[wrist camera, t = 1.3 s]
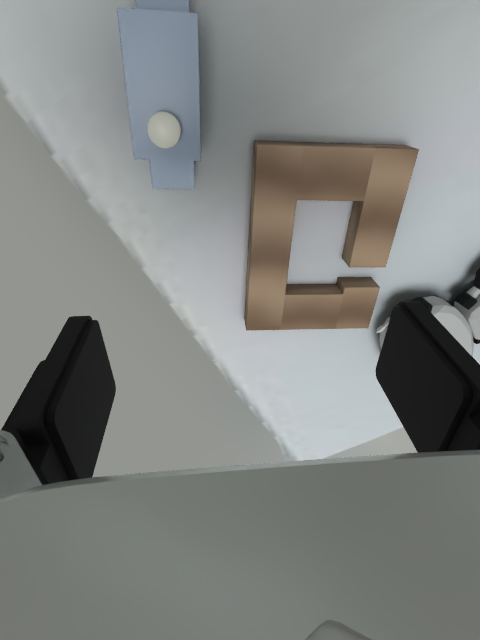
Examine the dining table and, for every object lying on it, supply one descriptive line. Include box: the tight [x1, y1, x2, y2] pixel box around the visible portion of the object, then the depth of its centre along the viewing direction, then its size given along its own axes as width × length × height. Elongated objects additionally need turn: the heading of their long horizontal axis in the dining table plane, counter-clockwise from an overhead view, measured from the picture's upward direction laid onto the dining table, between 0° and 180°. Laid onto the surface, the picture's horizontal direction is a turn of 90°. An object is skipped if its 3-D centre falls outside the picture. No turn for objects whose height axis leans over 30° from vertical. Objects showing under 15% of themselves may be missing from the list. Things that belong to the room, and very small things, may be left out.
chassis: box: [244, 141, 419, 330], centre depth 31 cm, size 16×12×2 cm
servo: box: [117, 0, 201, 189], centre depth 22 cm, size 12×4×7 cm, turn 178°
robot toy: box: [376, 268, 480, 356], centre depth 37 cm, size 12×4×15 cm
